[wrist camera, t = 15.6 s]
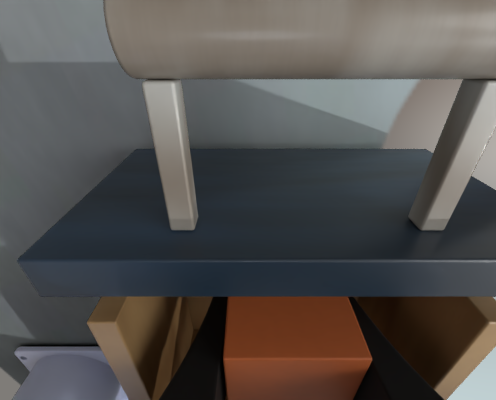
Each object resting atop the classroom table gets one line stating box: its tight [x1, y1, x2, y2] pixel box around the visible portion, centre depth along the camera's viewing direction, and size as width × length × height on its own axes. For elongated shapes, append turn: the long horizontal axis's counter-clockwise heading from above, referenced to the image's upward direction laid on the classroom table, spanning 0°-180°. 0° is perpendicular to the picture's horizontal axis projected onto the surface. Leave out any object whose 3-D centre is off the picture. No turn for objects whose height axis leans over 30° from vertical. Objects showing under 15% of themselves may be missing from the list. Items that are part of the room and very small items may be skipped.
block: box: [223, 297, 372, 400], centre depth 10 cm, size 4×4×5 cm
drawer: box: [17, 0, 496, 400], centre depth 10 cm, size 17×13×7 cm
